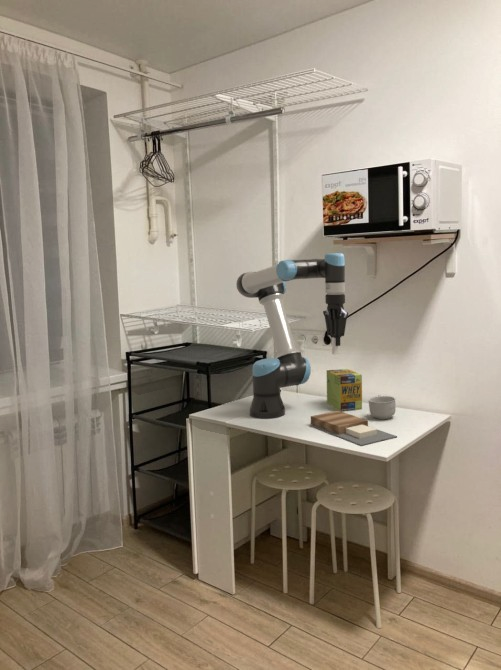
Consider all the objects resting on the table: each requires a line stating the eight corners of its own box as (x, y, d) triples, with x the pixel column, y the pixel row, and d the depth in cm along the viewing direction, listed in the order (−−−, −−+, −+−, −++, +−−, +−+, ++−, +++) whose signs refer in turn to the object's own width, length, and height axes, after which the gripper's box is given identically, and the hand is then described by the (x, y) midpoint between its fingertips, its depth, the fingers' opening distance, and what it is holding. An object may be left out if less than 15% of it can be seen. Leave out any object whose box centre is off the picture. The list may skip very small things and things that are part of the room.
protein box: (340, 411, 248) (340, 376, 246) (326, 403, 263) (325, 370, 261) (362, 409, 251) (362, 374, 249) (347, 401, 266) (347, 368, 264)
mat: (310, 426, 228) (310, 425, 228) (344, 419, 237) (344, 418, 237) (361, 446, 203) (361, 444, 203) (397, 437, 211) (397, 436, 211)
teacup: (395, 421, 231) (395, 402, 230) (367, 420, 234) (367, 401, 233) (396, 412, 244) (396, 394, 243) (370, 411, 247) (369, 393, 246)
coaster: (345, 433, 217) (345, 428, 216) (362, 429, 220) (362, 424, 220) (360, 438, 210) (360, 433, 209) (376, 434, 214) (376, 429, 213)
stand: (310, 423, 231) (310, 416, 230) (338, 417, 238) (338, 410, 237) (339, 434, 215) (339, 426, 215) (368, 427, 222) (367, 420, 222)
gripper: (317, 293, 227) (318, 352, 230) (338, 294, 216) (339, 357, 219) (332, 292, 231) (333, 350, 234) (353, 293, 219) (354, 354, 222)
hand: (336, 353), depth 226 cm, fingers closed
